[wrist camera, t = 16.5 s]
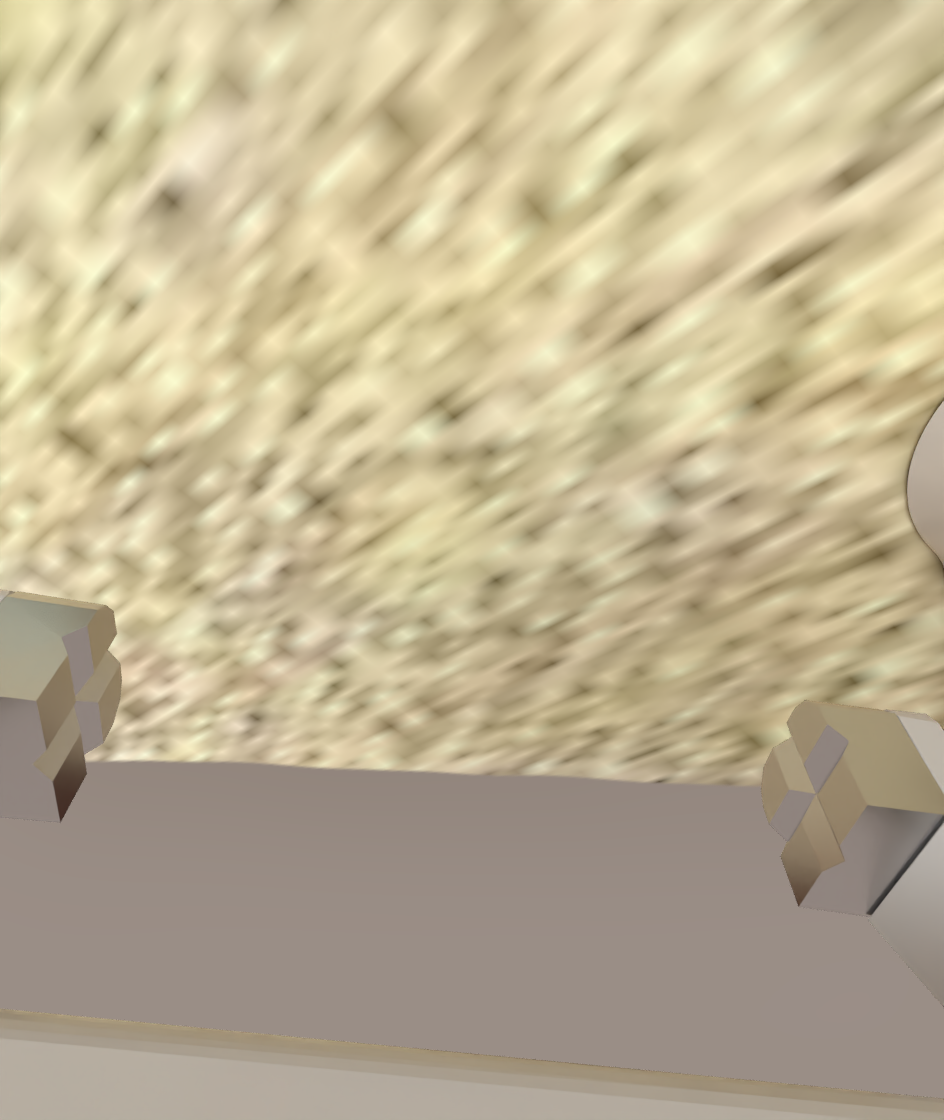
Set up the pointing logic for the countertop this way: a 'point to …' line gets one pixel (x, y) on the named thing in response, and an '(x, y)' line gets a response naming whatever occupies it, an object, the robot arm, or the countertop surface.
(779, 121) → the countertop surface
